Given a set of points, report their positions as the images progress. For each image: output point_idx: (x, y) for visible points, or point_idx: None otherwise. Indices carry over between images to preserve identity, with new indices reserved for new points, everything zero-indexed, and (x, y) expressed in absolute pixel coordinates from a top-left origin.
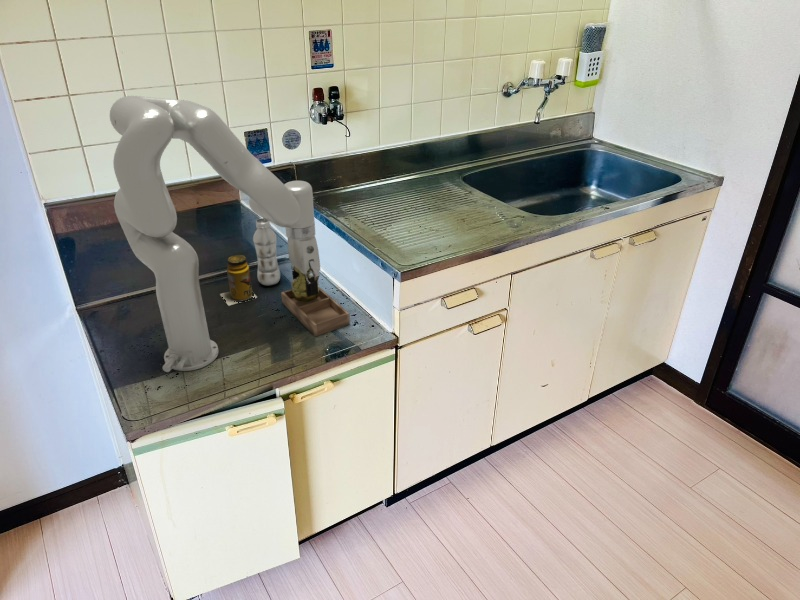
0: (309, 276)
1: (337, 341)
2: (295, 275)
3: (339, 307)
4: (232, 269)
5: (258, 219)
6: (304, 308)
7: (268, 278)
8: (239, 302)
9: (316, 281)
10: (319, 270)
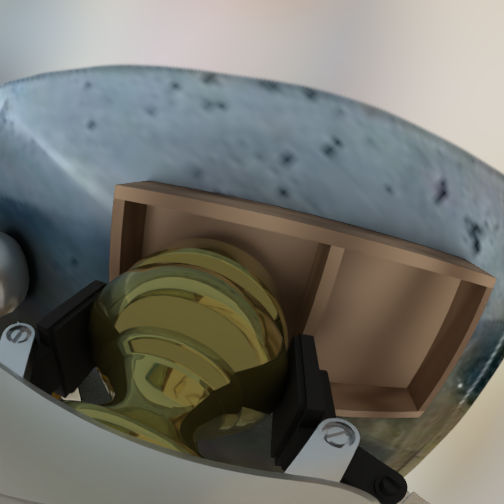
0: (203, 410)
1: (470, 349)
2: (82, 371)
3: (444, 274)
4: None
5: None
6: None
7: (11, 303)
8: (78, 392)
9: (359, 448)
10: (376, 502)
